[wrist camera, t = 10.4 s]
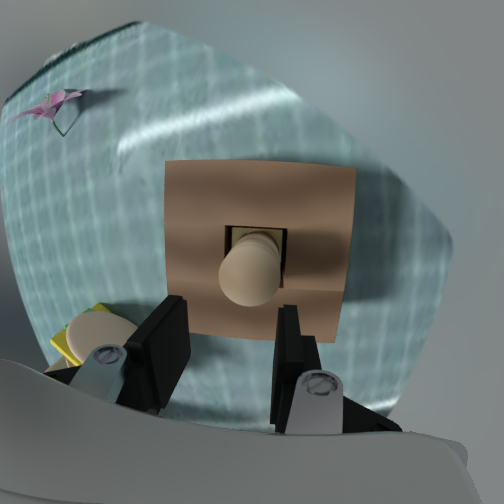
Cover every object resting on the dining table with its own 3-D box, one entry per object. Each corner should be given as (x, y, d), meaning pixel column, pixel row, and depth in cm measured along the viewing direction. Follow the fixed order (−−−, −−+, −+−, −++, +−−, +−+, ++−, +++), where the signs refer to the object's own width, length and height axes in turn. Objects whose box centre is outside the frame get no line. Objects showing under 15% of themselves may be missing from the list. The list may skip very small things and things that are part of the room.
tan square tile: (279, 274, 26) (279, 278, 25) (232, 271, 26) (231, 274, 25) (282, 228, 25) (282, 229, 24) (234, 225, 25) (232, 227, 24)
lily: (111, 111, 30) (80, 65, 21) (54, 173, 28) (11, 137, 19) (83, 94, 33) (57, 58, 24) (35, 145, 31) (3, 114, 22)
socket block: (321, 304, 33) (334, 342, 24) (195, 295, 34) (171, 329, 25) (334, 172, 29) (356, 168, 20) (195, 166, 30) (165, 161, 21)
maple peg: (277, 276, 25) (277, 308, 18) (233, 272, 25) (218, 303, 18) (280, 232, 24) (282, 249, 17) (235, 229, 24) (219, 245, 17)
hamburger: (90, 327, 38) (47, 365, 26) (103, 291, 36) (52, 327, 24) (148, 370, 38) (115, 420, 27) (167, 339, 36) (131, 392, 25)
